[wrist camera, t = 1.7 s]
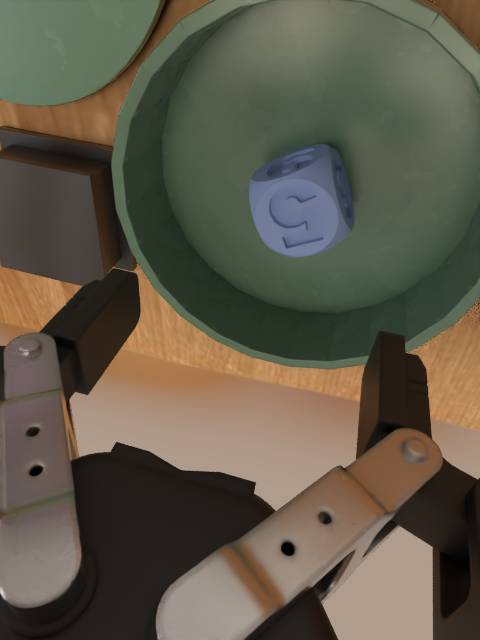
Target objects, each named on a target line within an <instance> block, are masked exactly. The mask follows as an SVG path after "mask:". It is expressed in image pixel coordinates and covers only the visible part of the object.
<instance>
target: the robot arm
mask: <svg viewBox="0 0 480 640" xmlns="http://www.w3.org/2000/svg"><path fill="white" fill-rule="evenodd" d="M139 317H140V296H139V283H138V276H137V274H136V273H133V272H128V271H124V270H120V269H115V268H114V269H112V270H111V271H110V272H109V273H108V274H107V275H106V276H105V278H104V279H103V280H102V281H101V280H97V279H96V280H94V281H92V282H90V283H88V284H86V285H85V286H83V287H82V288H81V289H80V290H79V291H78V292H77V293H76V294H75V295H74V296H73V298H71V299H70V300H69V301H68V302H67V303H66V306H64V307H63V308H62V309H61V310H60V311H59V312H58V313H57V314H56V315H55V316H54V317H53V318H52V319H51V320H50V321H49V322H48V323H47V324H46V326H45V327H44V328H43V329H42V330H41V331H40V332H39V333H27V334H24V335H21V336H18V337H16V338H15V339H13V340H12V341H10V342H9V343H8V345H7V346H0V640H338V638H337V636H336V634H335V632H334V629H333V627H332V625H331V623H330V621H329V618H328V616H327V614H326V612H325V610H324V607H323V605H322V604H323V603H324V602H325V601H326V600H327V599H328V598H329V597H330V596H331V595H332V594H333V593H335V592H336V590H338V589H339V587H341V585H342V584H343V583H344V582H345V581H346V580H347V579H348V578H349V577H350V576H351V574H352V573H353V572H354V571H355V569H356V568H357V567H358V566H359V565H360V564H361V563H362V562H363V561H364V560H365V559H366V558H367V557H368V556H369V555H370V554H371V553H372V552H373V551H375V549H377V548H378V547H379V546H380V545H381V544H382V543H383V542H384V541H385V540H386V539H387V538H388V537H389V536H390V535H391V534H392V533H393V532H394V531H395V530H396V529H397V528H399V527H400V526H401V527H402V528H404V529H405V530H407V531H409V532H410V533H412V534H413V535H415V536H417V537H418V538H420V539H421V540H423V541H424V542H426V543H428V544H429V545H431V546H432V547H433V640H480V478H479V479H476V478H474V477H472V476H470V475H469V474H467V473H465V472H463V471H461V470H459V469H458V468H456V467H454V466H453V465H451V464H450V463H449V462H447V461H446V460H445V459H444V458H443V457H442V453H441V451H440V449H439V447H438V445H437V444H436V443H435V442H434V441H433V440H432V435H431V422H430V410H429V397H428V386H427V372H426V368H425V366H424V365H423V363H422V361H421V360H420V358H419V356H417V355H413V354H408V353H405V336H404V335H400V334H395V333H391V332H387V331H382V330H380V331H379V332H378V334H377V337H376V339H375V342H374V345H373V347H372V350H371V352H370V355H369V358H368V360H367V363H366V366H365V369H364V373H363V378H362V386H361V399H360V413H359V426H358V439H357V440H358V441H357V453H356V461H354V462H353V463H352V464H350V465H349V466H347V467H346V468H343V467H342V466H337V467H335V468H333V469H332V470H330V471H329V472H328V473H326V474H325V475H324V476H323V477H321V478H320V479H318V480H317V481H316V482H314V483H313V484H312V485H310V486H309V487H308V488H307V489H305V490H304V491H302V492H301V493H300V494H298V495H297V496H296V497H294V498H293V499H292V500H291V501H289V502H288V503H287V504H285V505H284V506H283V507H281V508H280V509H279V510H277V511H275V510H274V509H273V508H272V507H271V506H270V505H269V504H268V503H267V502H265V501H264V500H263V499H262V498H260V497H259V496H257V495H255V494H254V490H255V485H256V482H252V481H249V480H245V479H242V478H238V477H235V476H232V475H228V474H225V473H221V472H204V471H183V470H180V469H178V468H176V467H174V466H173V465H171V464H169V463H168V462H166V461H164V460H163V459H161V458H159V457H158V456H156V455H154V454H153V453H151V452H149V451H146V450H142V449H139V448H135V447H132V446H128V445H125V444H121V443H118V442H116V443H115V445H114V447H113V449H112V450H111V452H103V453H94V454H89V455H86V456H82V457H79V453H78V448H77V441H76V435H75V429H74V422H73V416H72V409H71V403H70V398H71V396H72V395H73V394H74V392H78V393H82V394H86V395H88V394H89V393H90V391H91V390H92V388H93V387H94V386H95V384H96V383H97V381H98V380H99V379H100V377H101V376H102V374H103V373H104V371H105V370H106V369H107V367H108V366H109V364H110V363H111V361H112V360H113V359H114V357H115V356H116V354H117V353H118V351H119V350H120V349H121V347H122V346H123V344H124V343H125V341H126V340H127V339H128V337H129V336H130V334H131V333H132V331H133V330H134V329H135V327H136V325H137V323H138V321H139Z"/></svg>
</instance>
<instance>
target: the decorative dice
mask: <svg viewBox="0 0 480 640" xmlns="http://www.w3.org/2000/svg"><path fill="white" fill-rule="evenodd" d="M249 201H250V207H251V212H252V216H253V220H254V223H255V226H256V228H257V231H258V233H259V235H260V237H261V239H262V240H263V242H264V243H265V244H266V245H267V246H268V247H269V248H271V249H272V250H274V251H275V252H277V253H279V254H281V255H284V256H287V257H294V258H298V257H306V256H311V255H315V254H318V253H321V252H323V251H326V250H328V249H330V248H332V247H334V246H336V245H337V244H339V243H340V242H342V241H343V240H344V239H345V238H346V237H347V236H348V235H349V234H350V233H351V231H352V229H353V228H354V206H353V199H352V194H351V189H350V184H349V180H348V176H347V173H346V170H345V167H344V164H343V161H342V159H341V156H340V155H339V153H338V151H337V150H336V149H334V148H332V147H330V146H328V145H326V144H315V145H310V146H306V147H302V148H299V149H296V150H293V151H291V152H288V153H286V154H283V155H281V156H279V157H277V158H275V159H273V160H271V161H270V162H268V163H266V164H265V165H263V166H262V167H260V168H259V169H258V170H257V171H256V172H255V173H254V174H253V176H252V178H251V181H250V185H249Z"/></svg>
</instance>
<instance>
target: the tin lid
mask: <svg viewBox="0 0 480 640" xmlns="http://www.w3.org/2000/svg"><path fill="white" fill-rule="evenodd" d="M164 3H165V0H0V100H4V101H8V102H12V103H16V104H20V105H30V106H54V105H61V104H65V103H69V102H73V101H77V100H79V99H81V98H84V97H86V96H88V95H90V94H92V93H95V92H97V91H99V90H101V89H102V88H103V87H105V86H106V85H108V84H109V83H111V82H112V81H113V80H115V79H116V78H117V77H118V76H119V75H120V74H121V73H122V72H123V71H124V70H125V69H126V68H127V67H128V66H129V65H130V64H131V63H132V62H133V60H134V59H135V58H136V56H137V55H138V54H139V52H140V51H141V49H142V48H143V47H144V45H145V44H146V42H147V40H148V38H149V36H150V34H151V33H152V31H153V29H154V27H155V25H156V23H157V21H158V19H159V16H160V13H161V11H162V8H163V5H164Z"/></svg>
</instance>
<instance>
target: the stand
mask: <svg viewBox="0 0 480 640" xmlns="http://www.w3.org/2000/svg"><path fill="white" fill-rule="evenodd" d="M0 144H1V148H2V150H0V263H1V266H2V267H6V268H10V269H14V270H18V271H22V272H27V273H31V274H35V275H39V276H43V277H47V278H51V279H55V280H59V281H64V282H68V283H72V284H76V285H80V286H85V285H86V284H88V283H90V282H92V281H94V280H96V279H97V280H101V281H102V280H103V279H104V278H105V276H106V275H107V273H108V272H109V271H110V270H111V269H112V268H113V267H117V268H121V269H125V270H130V271H134V270H135V268H136V261H135V257H134V255H133V254H132V251H131V250H130V247H129V244H128V241H127V239H126V236H125V233H124V230H123V227H122V225H121V222H120V219H119V216H118V213H117V210H116V205H115V196H114V187H113V178H112V168H111V164H112V163H111V161H112V154H113V147H110V146H105V145H99V144H94V143H89V142H83V141H78V140H73V139H67V138H62V137H57V136H51V135H46V134H41V133H35V132H30V131H25V130H19V129H14V128H9V127H3V126H1V127H0Z"/></svg>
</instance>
